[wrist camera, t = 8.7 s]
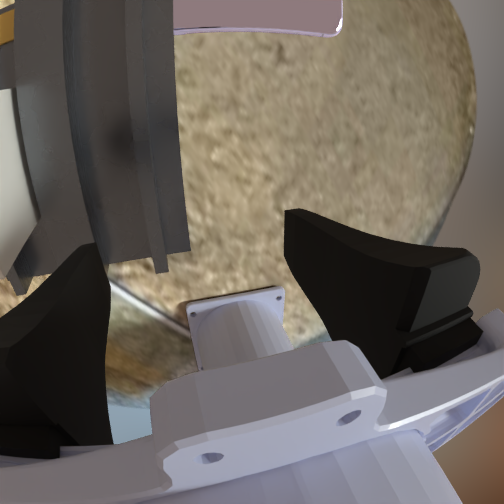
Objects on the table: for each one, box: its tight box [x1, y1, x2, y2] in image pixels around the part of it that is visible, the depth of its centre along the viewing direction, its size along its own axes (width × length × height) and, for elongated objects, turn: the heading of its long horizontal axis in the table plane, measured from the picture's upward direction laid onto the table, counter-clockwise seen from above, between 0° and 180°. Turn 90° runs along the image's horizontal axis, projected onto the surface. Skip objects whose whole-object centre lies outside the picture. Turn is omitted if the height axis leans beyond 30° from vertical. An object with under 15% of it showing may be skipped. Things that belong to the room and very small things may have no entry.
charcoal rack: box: [0, 0, 191, 296], centre depth 14 cm, size 18×14×3 cm
